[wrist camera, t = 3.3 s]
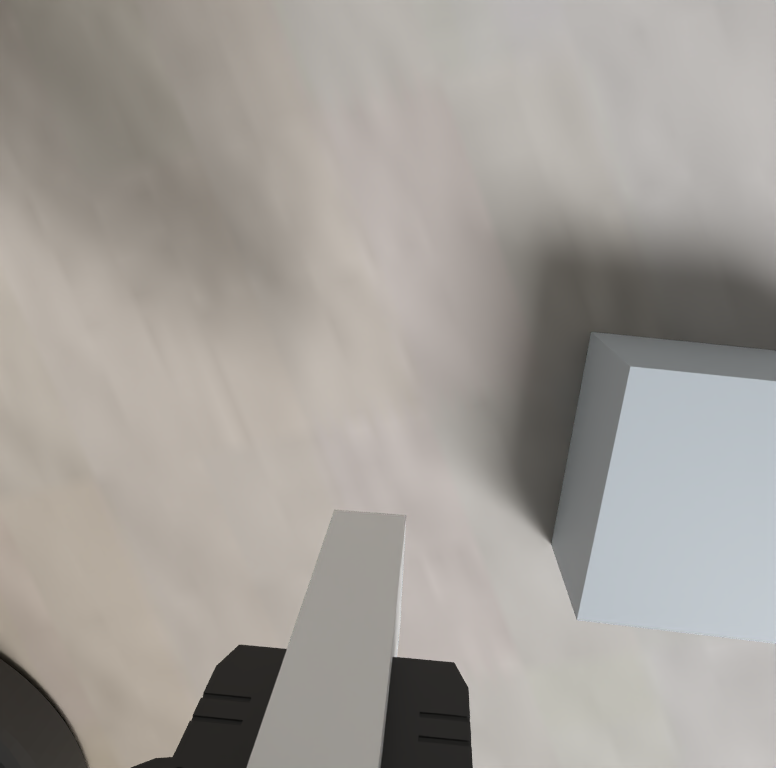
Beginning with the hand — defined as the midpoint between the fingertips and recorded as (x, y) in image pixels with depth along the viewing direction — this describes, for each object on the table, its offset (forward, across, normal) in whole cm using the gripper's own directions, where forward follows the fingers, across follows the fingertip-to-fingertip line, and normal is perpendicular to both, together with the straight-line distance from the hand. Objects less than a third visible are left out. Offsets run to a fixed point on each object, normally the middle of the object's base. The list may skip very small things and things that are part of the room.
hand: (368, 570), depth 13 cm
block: (+7, +9, 0) cm, 11 cm away
